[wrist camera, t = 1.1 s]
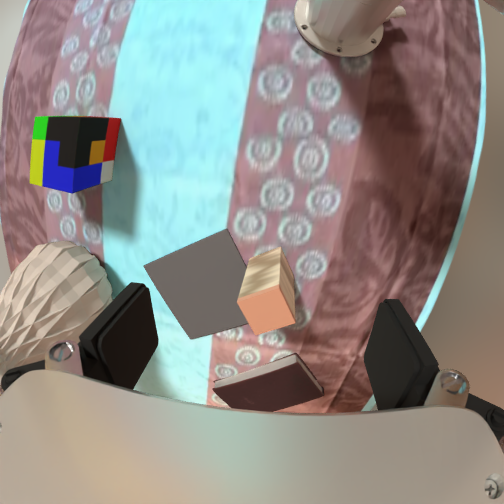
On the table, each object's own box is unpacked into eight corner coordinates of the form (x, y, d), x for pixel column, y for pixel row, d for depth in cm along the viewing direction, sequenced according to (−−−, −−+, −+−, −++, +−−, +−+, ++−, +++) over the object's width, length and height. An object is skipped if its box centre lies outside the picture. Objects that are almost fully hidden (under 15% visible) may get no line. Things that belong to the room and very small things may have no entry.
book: (323, 386, 51) (325, 398, 48) (246, 410, 57) (244, 421, 54) (297, 349, 48) (297, 362, 45) (213, 379, 53) (210, 390, 50)
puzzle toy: (112, 180, 39) (72, 193, 30) (69, 171, 39) (29, 183, 30) (121, 118, 35) (80, 117, 26) (76, 115, 35) (35, 116, 26)
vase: (146, 286, 46) (44, 419, 18) (101, 333, 52) (27, 433, 25) (74, 205, 41) (-63, 280, 14) (42, 267, 48) (-50, 342, 20)
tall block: (280, 246, 40) (278, 287, 29) (293, 275, 42) (295, 323, 31) (249, 258, 41) (236, 302, 30) (263, 285, 43) (255, 335, 32)
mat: (227, 228, 40) (226, 229, 40) (271, 315, 45) (271, 316, 45) (144, 265, 44) (143, 266, 44) (190, 338, 49) (190, 339, 49)
